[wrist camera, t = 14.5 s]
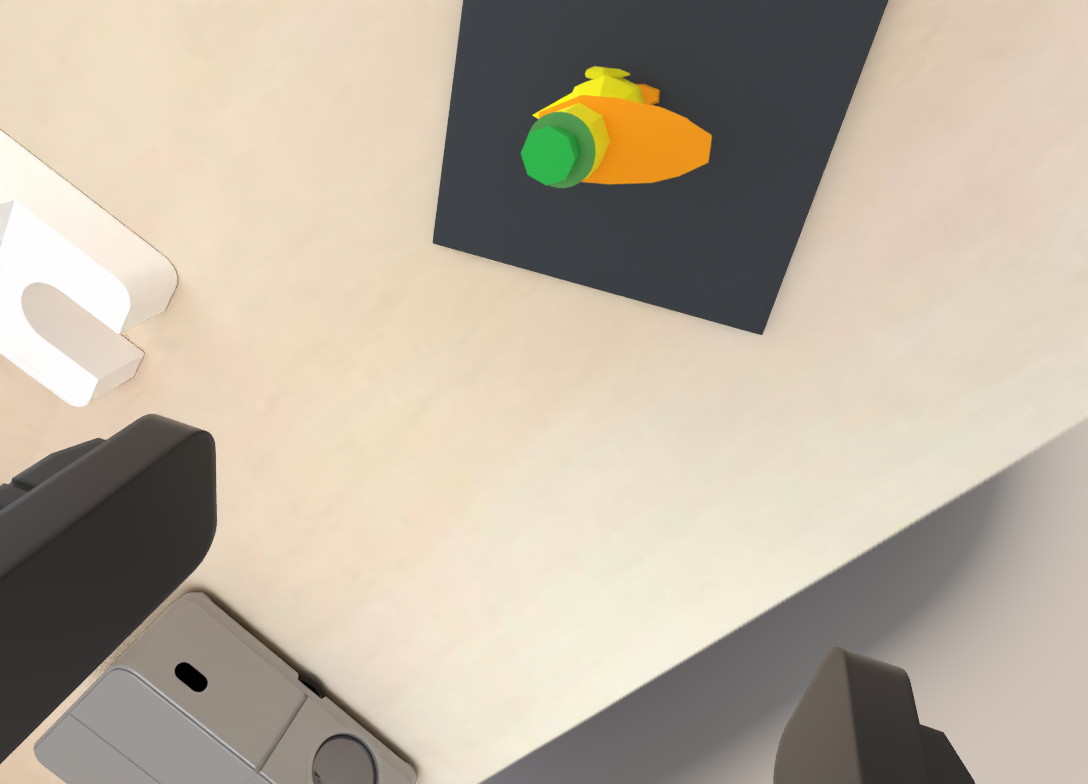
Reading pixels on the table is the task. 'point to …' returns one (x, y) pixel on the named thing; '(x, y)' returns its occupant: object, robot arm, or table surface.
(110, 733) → the projector
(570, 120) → the toy figure
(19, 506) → the robot arm
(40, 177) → the slotted white bracket
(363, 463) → the table surface
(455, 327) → the table surface
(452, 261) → the table surface
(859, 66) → the mat
